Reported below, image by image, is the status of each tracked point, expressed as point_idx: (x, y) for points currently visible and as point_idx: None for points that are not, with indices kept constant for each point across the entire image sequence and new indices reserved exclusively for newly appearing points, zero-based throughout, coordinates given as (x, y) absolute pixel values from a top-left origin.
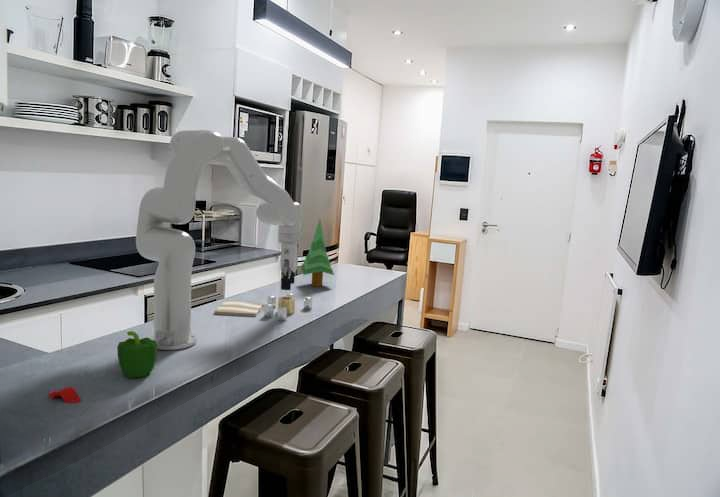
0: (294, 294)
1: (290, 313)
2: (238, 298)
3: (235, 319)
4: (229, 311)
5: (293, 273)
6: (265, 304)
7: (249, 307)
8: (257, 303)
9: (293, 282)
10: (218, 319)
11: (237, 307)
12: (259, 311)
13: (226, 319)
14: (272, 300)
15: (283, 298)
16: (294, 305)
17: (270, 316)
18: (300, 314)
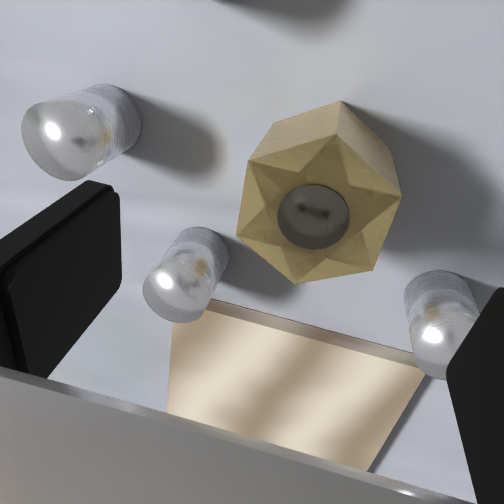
0: (57, 103)
1: (378, 138)
2: (61, 375)
3: (461, 440)
4: (360, 460)
5: (10, 286)
6: (434, 372)
7: (280, 379)
8: (186, 333)
9: (110, 198)
10: (442, 488)
11: (281, 423)
12: (316, 328)
13: (450, 467)
14: (211, 282)
15: (327, 247)
16: (339, 116)
17: (470, 292)
18: (420, 45)
